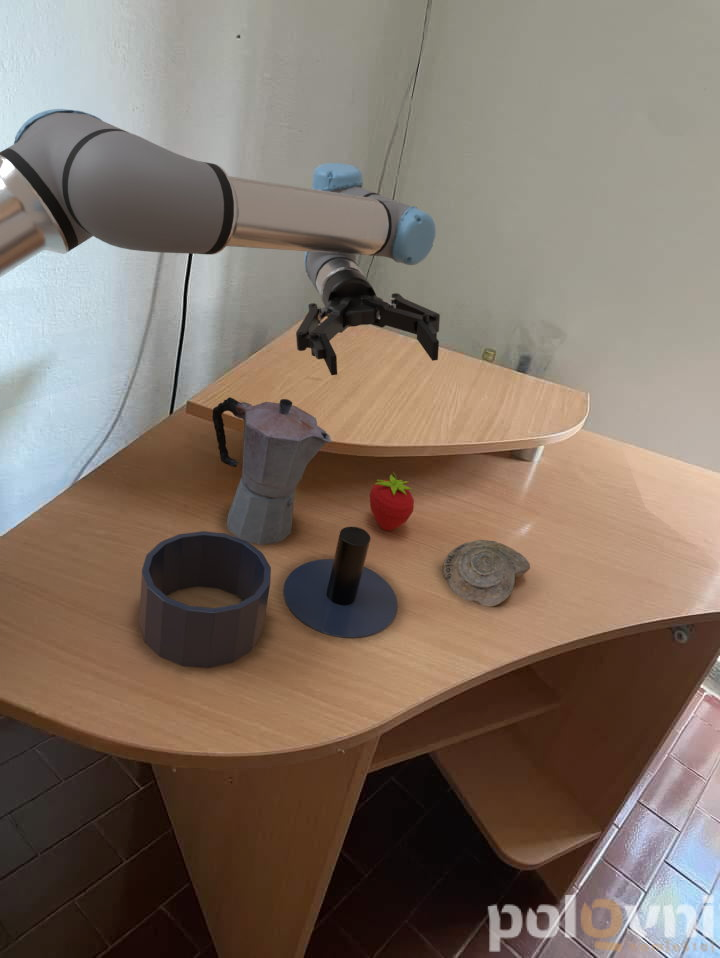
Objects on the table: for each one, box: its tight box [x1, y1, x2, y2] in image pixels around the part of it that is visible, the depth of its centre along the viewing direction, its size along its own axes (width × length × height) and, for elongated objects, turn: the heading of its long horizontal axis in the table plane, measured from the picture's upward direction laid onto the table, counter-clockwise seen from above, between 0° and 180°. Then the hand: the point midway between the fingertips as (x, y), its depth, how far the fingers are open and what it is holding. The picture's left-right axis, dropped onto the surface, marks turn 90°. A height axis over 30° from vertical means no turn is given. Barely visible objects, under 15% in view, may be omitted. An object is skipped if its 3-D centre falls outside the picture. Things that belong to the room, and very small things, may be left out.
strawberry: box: [369, 471, 415, 532], centre depth 97 cm, size 6×8×10 cm
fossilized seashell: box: [442, 539, 531, 608], centre depth 92 cm, size 11×11×7 cm
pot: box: [138, 530, 272, 669], centre depth 75 cm, size 13×13×8 cm
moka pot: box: [211, 397, 332, 546], centre depth 89 cm, size 10×15×20 cm, turn 81°
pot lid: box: [282, 526, 399, 639], centre depth 82 cm, size 14×14×10 cm
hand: (385, 358), depth 89 cm, fingers open, 13 cm apart
